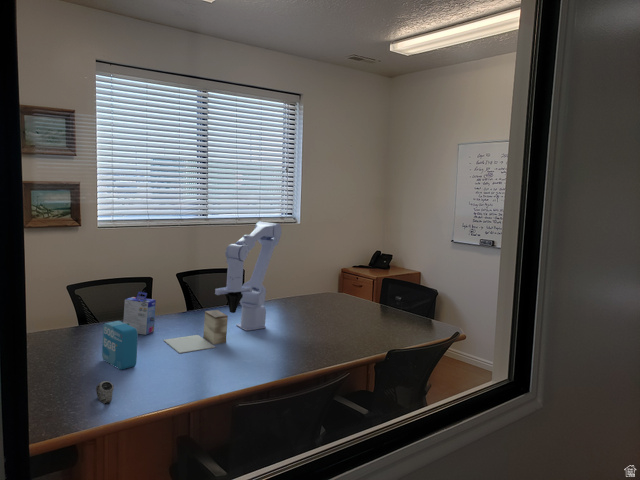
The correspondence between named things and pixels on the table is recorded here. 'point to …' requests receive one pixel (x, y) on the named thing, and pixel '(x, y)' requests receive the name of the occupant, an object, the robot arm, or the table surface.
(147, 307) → the ink cartridge box
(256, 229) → the robot arm
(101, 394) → the grey stone mug
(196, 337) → the mat
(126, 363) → the data package
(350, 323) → the table surface
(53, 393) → the table surface
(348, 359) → the table surface
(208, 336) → the ash block
